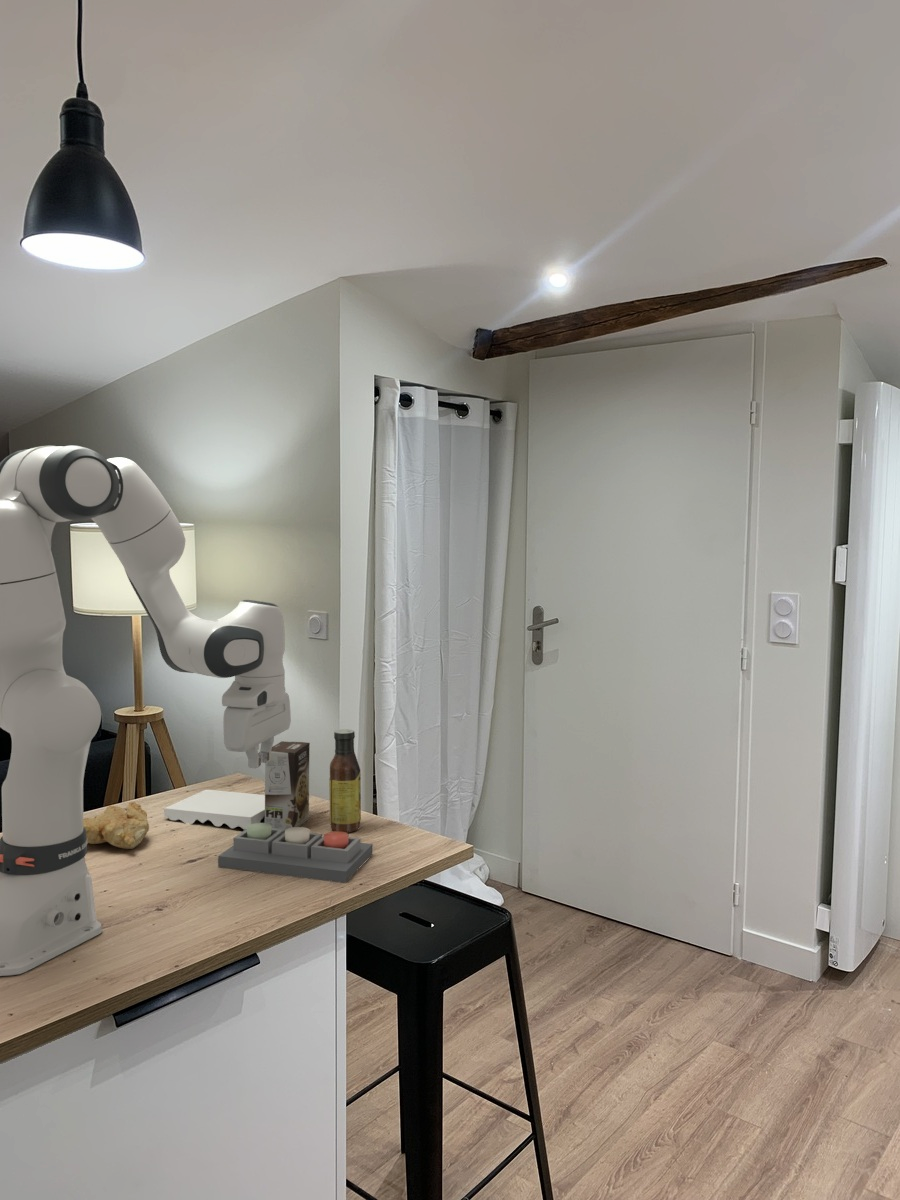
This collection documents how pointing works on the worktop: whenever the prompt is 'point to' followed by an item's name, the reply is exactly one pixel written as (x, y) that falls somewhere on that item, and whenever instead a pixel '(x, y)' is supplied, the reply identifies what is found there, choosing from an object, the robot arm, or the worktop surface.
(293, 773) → the coffee box
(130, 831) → the ginger root
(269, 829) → the green button
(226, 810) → the white scalloped slab
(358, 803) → the sauce bottle
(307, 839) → the cream button
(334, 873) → the button panel
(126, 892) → the worktop surface
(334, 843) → the red button
